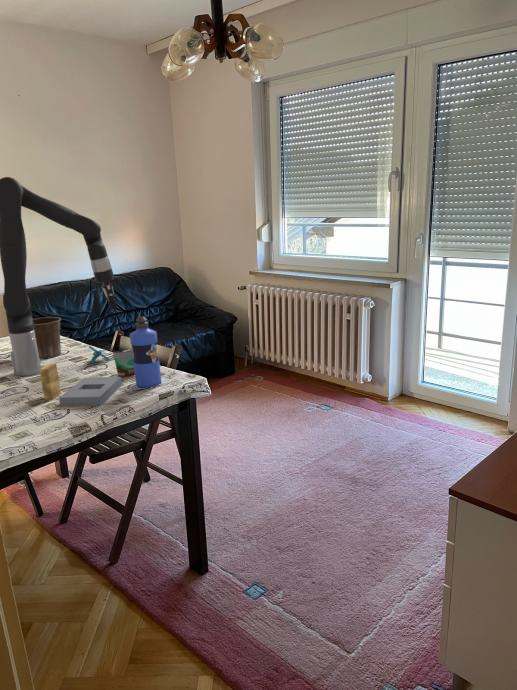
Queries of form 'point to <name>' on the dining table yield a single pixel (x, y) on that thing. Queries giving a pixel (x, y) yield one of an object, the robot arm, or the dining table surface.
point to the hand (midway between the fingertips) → (112, 307)
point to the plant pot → (47, 336)
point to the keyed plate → (90, 391)
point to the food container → (124, 363)
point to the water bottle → (145, 355)
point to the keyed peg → (50, 381)
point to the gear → (97, 354)
